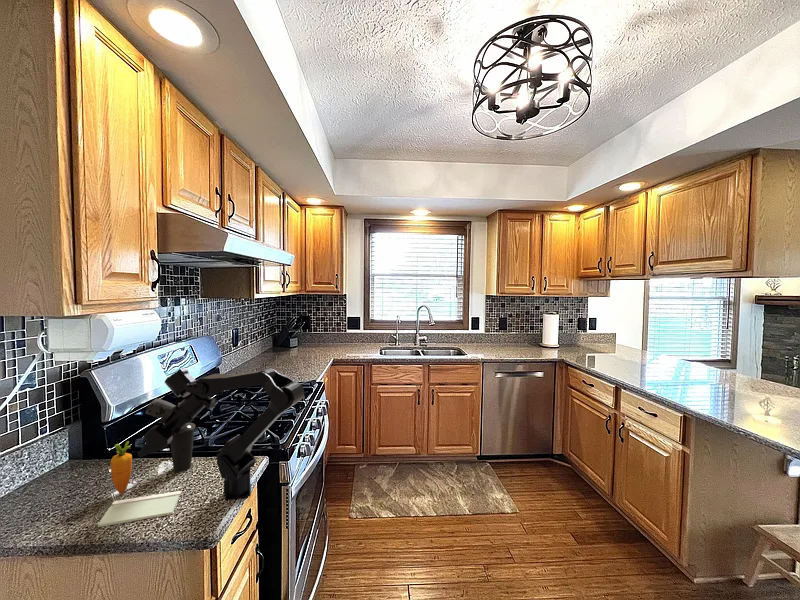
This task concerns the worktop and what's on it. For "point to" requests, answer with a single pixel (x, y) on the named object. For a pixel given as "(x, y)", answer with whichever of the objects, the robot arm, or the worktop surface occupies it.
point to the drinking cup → (182, 448)
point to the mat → (139, 510)
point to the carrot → (121, 468)
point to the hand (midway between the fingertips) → (146, 448)
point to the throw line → (146, 498)
